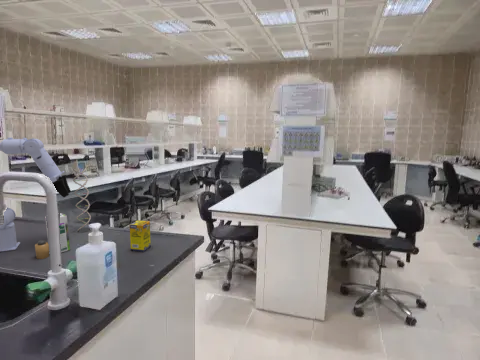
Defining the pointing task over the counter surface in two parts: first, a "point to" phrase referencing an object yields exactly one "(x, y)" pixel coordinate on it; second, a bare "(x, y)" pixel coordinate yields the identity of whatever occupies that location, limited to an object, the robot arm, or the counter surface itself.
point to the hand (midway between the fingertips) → (67, 194)
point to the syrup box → (63, 233)
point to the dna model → (82, 197)
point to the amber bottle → (42, 249)
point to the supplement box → (140, 235)
